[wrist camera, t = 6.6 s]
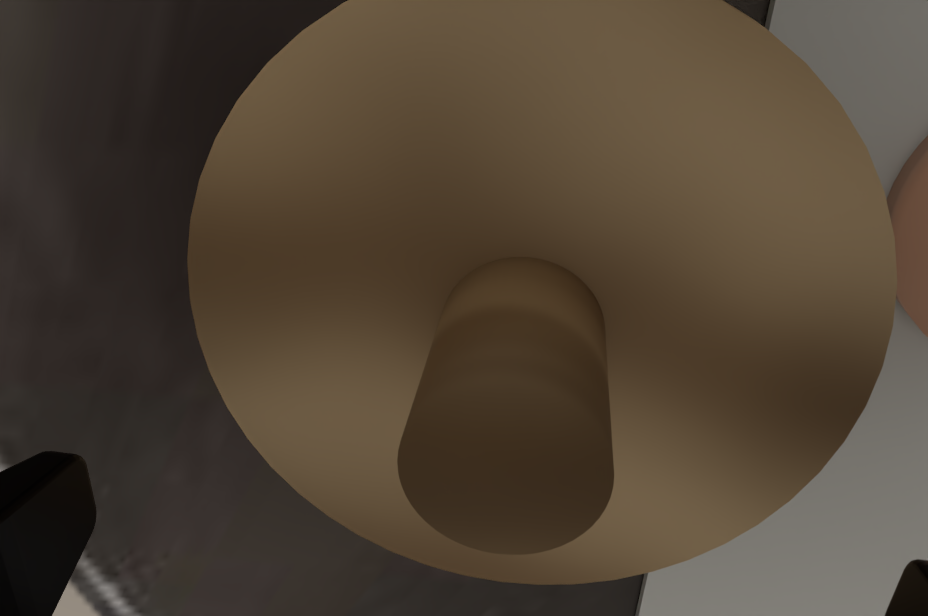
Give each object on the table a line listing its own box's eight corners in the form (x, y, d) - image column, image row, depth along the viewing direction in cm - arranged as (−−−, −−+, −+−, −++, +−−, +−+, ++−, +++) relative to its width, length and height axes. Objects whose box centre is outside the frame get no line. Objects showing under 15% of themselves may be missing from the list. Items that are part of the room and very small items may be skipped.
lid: (783, 578, 15) (854, 813, 12) (241, 511, 16) (136, 706, 13) (977, -29, 10) (1225, 18, 6) (173, -73, 11) (-43, -54, 7)
